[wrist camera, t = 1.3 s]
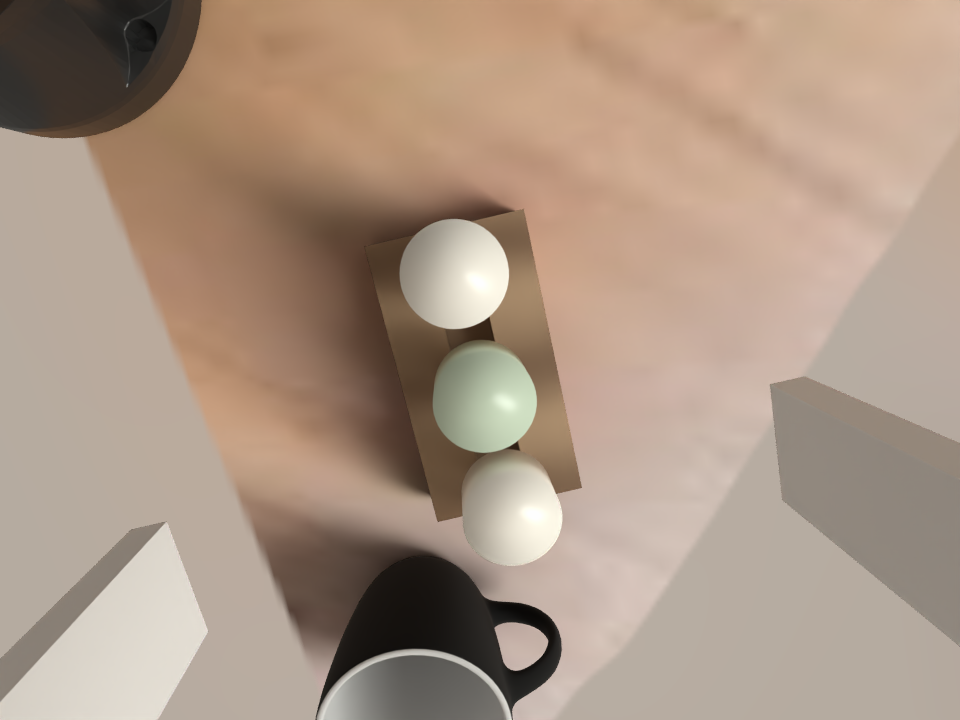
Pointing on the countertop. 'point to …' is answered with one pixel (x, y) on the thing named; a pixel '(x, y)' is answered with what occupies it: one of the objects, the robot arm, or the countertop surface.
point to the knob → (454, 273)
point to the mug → (431, 650)
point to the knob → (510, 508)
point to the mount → (509, 325)
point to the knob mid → (483, 396)
